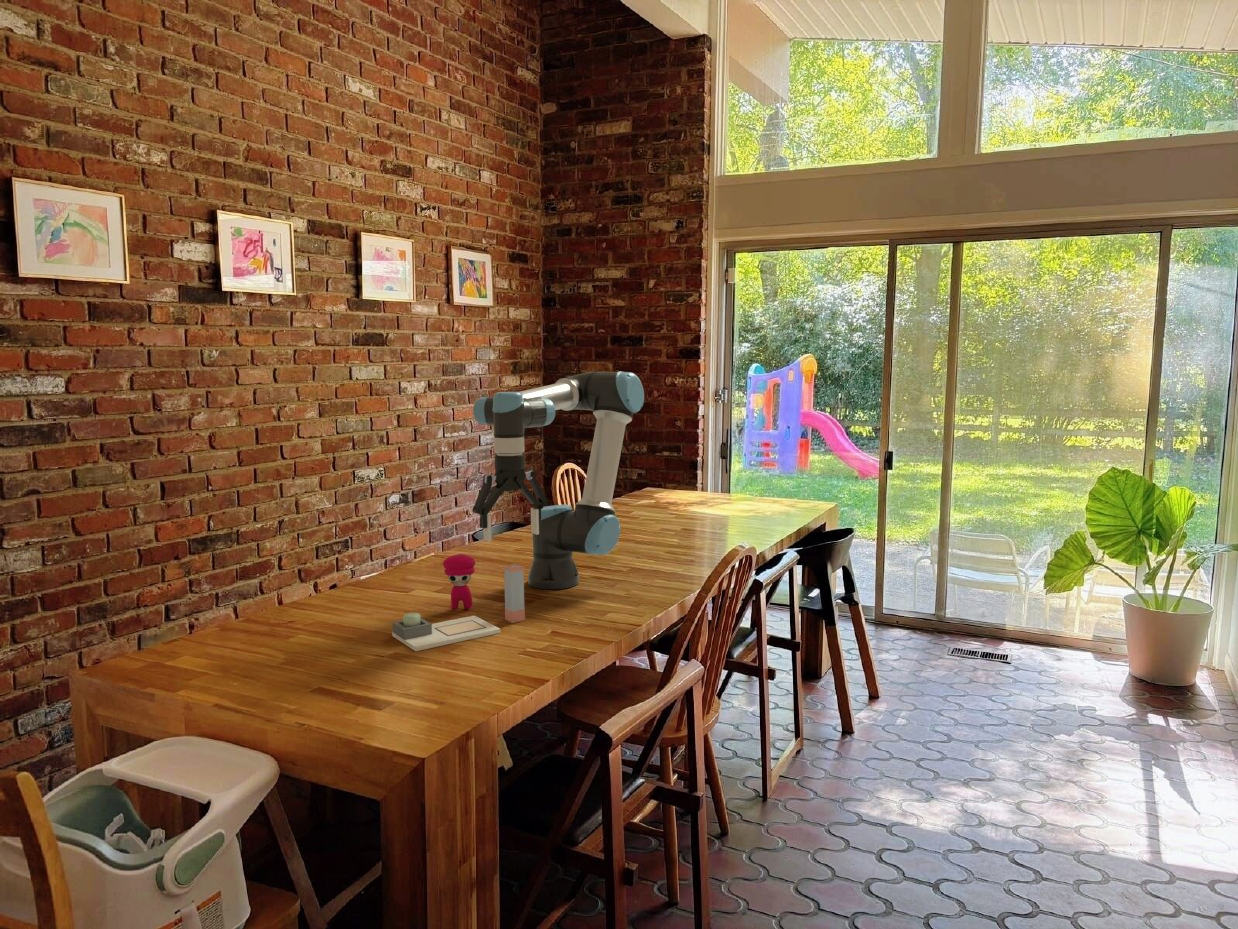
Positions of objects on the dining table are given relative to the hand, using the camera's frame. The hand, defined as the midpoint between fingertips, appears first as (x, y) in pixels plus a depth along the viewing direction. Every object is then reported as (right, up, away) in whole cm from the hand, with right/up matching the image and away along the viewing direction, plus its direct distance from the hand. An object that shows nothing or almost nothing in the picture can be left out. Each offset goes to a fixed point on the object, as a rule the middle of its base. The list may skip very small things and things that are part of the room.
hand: (511, 537), depth 223 cm
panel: (-15, -23, -8) cm, 29 cm away
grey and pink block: (0, -21, +3) cm, 22 cm away
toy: (-15, -21, +12) cm, 28 cm away
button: (-23, -21, -11) cm, 33 cm away
